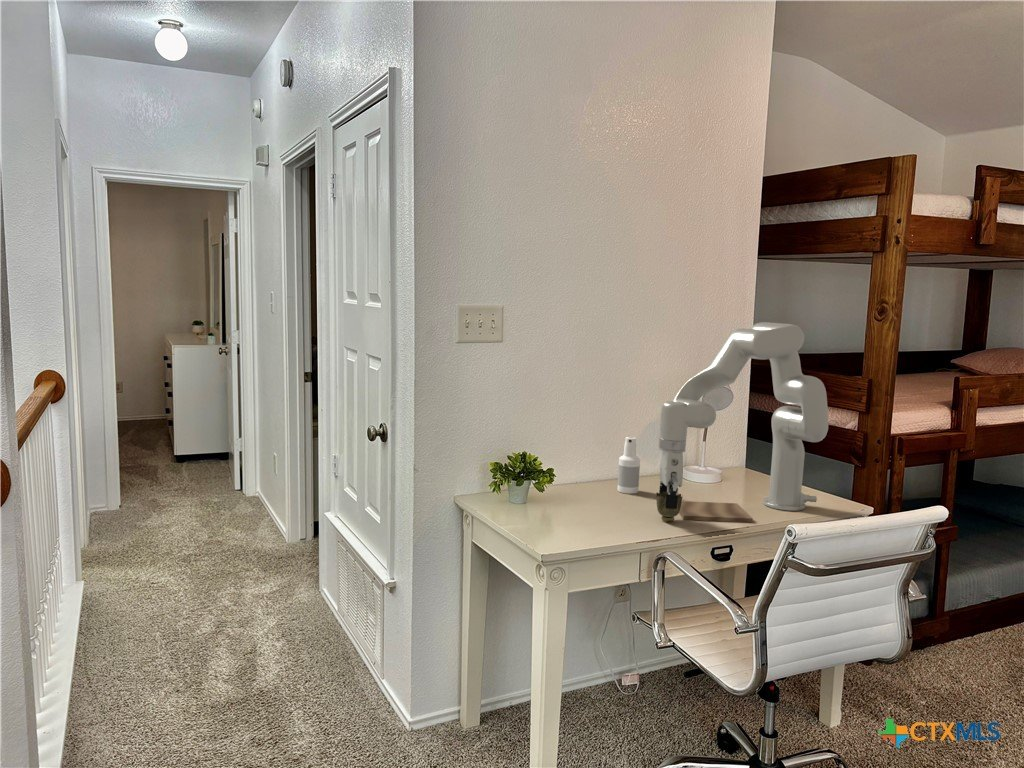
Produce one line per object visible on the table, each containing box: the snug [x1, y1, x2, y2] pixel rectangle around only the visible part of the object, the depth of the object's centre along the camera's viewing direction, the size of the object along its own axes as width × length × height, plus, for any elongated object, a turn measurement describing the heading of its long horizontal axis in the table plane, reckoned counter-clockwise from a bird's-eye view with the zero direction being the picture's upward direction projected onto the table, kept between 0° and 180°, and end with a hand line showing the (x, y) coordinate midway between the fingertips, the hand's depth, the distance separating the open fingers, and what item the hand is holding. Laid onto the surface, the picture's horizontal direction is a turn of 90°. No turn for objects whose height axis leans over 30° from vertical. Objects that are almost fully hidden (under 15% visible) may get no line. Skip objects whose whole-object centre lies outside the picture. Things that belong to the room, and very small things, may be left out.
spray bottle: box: [616, 436, 641, 495], centre depth 250 cm, size 7×7×18 cm
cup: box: [655, 491, 683, 523], centre depth 218 cm, size 8×7×8 cm
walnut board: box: [678, 500, 754, 523], centre depth 229 cm, size 20×16×1 cm
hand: (667, 503), depth 218 cm, fingers open, 9 cm apart
